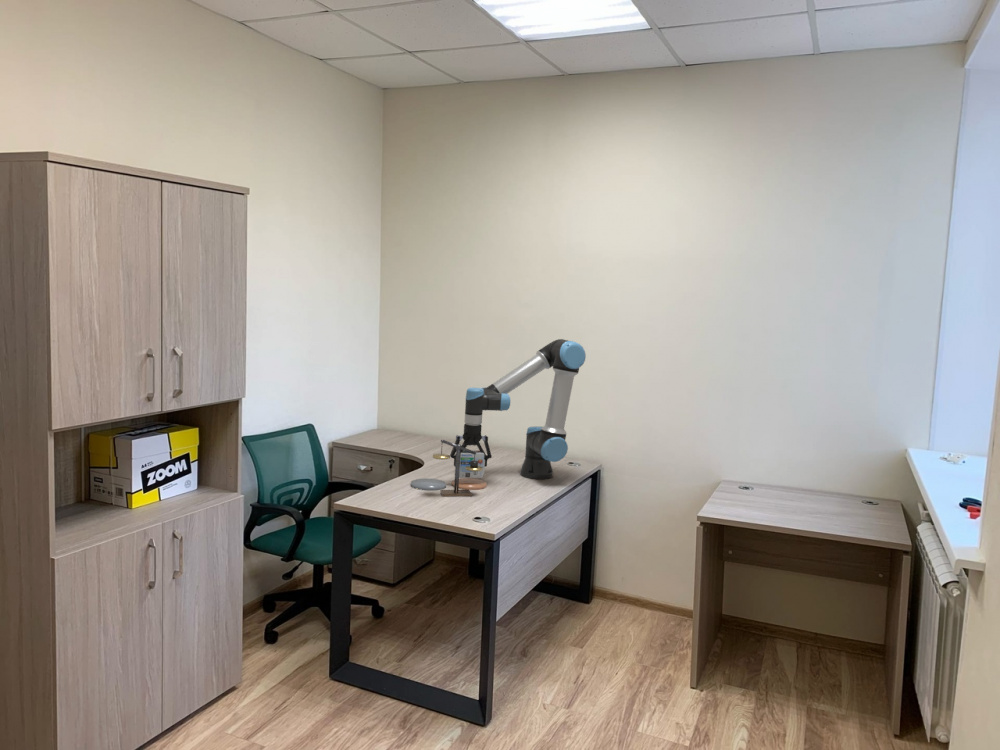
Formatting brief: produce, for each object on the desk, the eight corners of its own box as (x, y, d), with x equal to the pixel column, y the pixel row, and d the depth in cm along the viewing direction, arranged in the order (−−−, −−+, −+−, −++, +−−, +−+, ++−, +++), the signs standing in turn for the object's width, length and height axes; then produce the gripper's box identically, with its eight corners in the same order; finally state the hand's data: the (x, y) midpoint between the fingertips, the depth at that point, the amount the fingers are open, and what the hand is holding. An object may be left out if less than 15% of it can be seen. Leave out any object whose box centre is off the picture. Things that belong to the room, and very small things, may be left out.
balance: (478, 491, 324) (481, 437, 321) (482, 496, 317) (485, 441, 314) (429, 492, 318) (432, 437, 315) (432, 497, 311) (435, 441, 309)
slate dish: (442, 481, 338) (442, 478, 337) (449, 490, 323) (449, 487, 323) (408, 481, 333) (408, 478, 333) (413, 490, 319) (414, 487, 319)
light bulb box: (459, 478, 328) (460, 453, 327) (455, 474, 334) (457, 450, 333) (483, 478, 331) (485, 453, 330) (479, 474, 337) (481, 450, 336)
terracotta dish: (481, 480, 342) (482, 477, 342) (490, 489, 328) (490, 486, 328) (448, 480, 338) (449, 478, 338) (456, 490, 324) (456, 487, 324)
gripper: (496, 422, 337) (493, 471, 339) (444, 421, 331) (441, 471, 333) (501, 425, 330) (497, 475, 332) (448, 425, 323) (445, 476, 326)
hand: (469, 473), depth 333 cm, fingers closed on light bulb box, 11 cm apart
